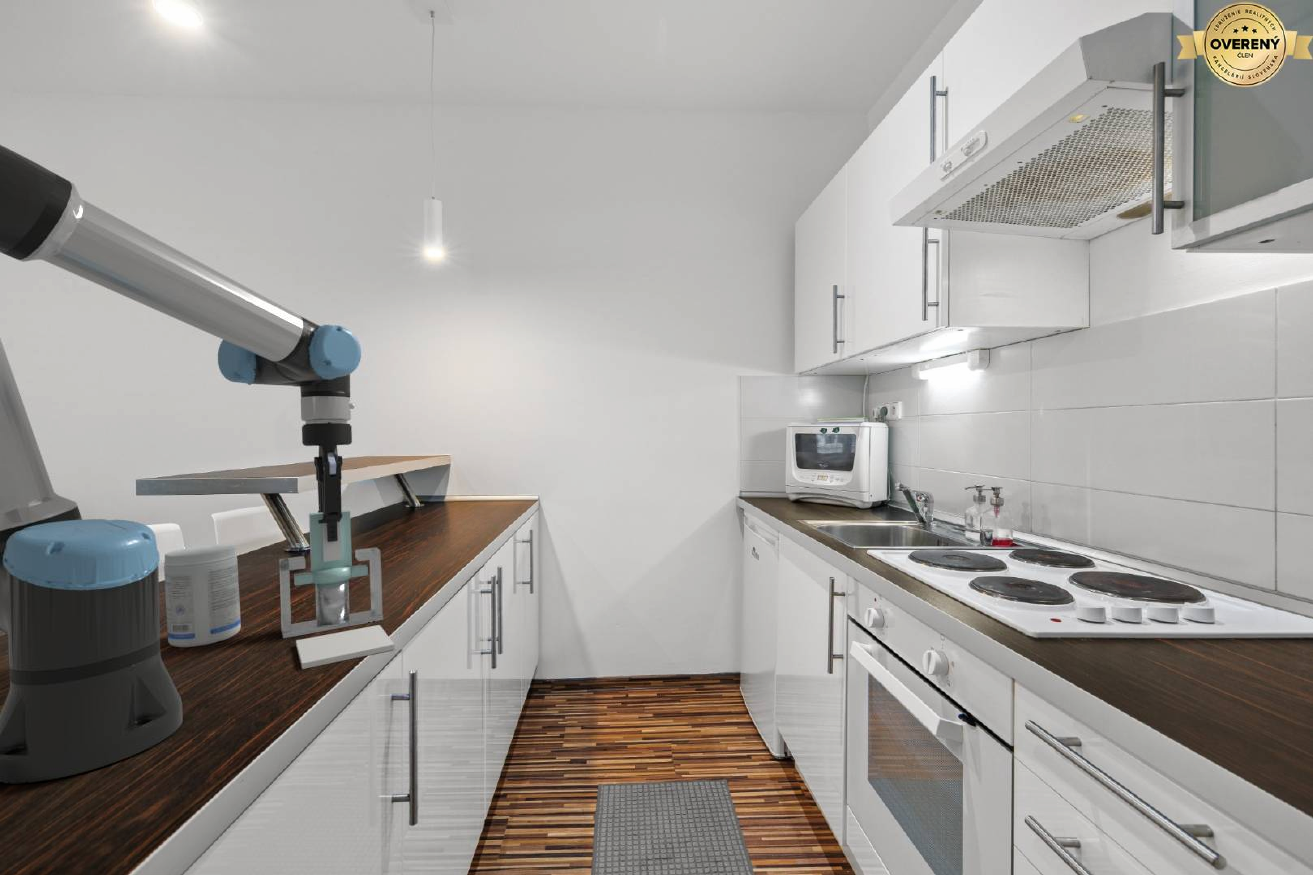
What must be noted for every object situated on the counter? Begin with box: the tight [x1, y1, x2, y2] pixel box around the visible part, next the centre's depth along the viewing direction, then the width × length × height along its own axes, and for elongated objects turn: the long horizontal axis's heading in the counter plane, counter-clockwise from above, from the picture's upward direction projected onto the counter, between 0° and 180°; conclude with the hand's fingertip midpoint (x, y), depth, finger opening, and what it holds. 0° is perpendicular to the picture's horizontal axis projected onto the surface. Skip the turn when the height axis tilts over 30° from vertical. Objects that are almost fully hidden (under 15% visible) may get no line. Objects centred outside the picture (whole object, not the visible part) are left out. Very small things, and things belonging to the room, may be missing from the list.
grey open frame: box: [278, 546, 384, 639], centre depth 103 cm, size 15×5×12 cm, turn 125°
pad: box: [295, 624, 395, 670], centre depth 92 cm, size 12×12×1 cm
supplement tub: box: [163, 544, 242, 648], centre depth 98 cm, size 10×10×15 cm
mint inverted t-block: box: [293, 509, 369, 586], centre depth 103 cm, size 11×6×12 cm, turn 125°
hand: (331, 558), depth 103 cm, fingers closed on mint inverted t-block, 2 cm apart
